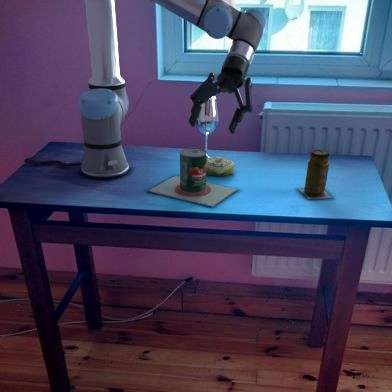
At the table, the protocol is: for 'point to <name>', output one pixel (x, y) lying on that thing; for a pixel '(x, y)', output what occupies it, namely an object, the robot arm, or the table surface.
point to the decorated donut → (219, 166)
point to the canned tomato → (193, 170)
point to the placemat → (206, 198)
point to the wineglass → (208, 119)
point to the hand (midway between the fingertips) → (210, 127)
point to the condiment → (316, 175)
